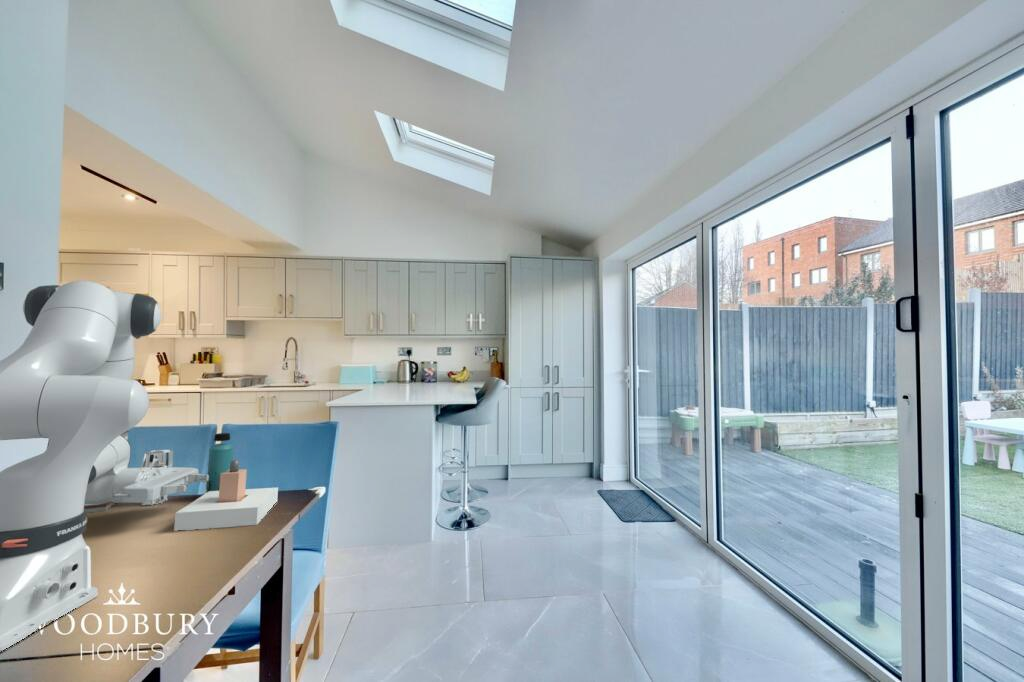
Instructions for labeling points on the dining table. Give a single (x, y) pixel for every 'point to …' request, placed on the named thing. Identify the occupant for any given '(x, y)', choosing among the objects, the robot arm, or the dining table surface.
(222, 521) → the socket
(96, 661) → the dining table surface
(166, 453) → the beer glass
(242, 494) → the plug
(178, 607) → the dining table surface
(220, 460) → the beverage bottle
